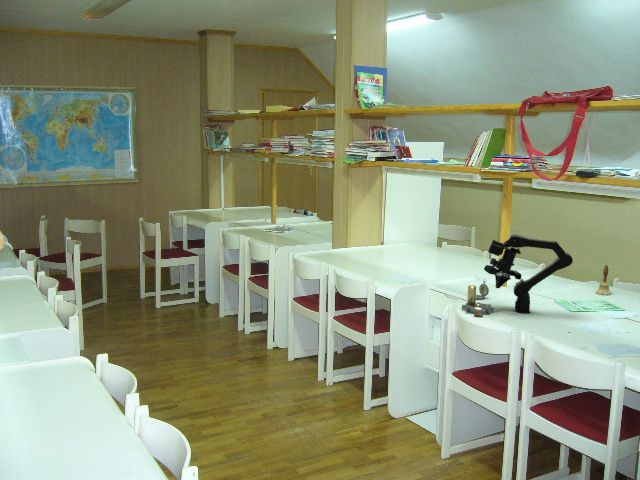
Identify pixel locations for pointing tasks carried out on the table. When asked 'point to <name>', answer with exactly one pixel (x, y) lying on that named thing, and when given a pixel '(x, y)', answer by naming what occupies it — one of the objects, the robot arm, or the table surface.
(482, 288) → the pocket watch
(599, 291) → the hand bell
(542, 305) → the table surface
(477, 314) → the pointer
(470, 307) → the sprocket
